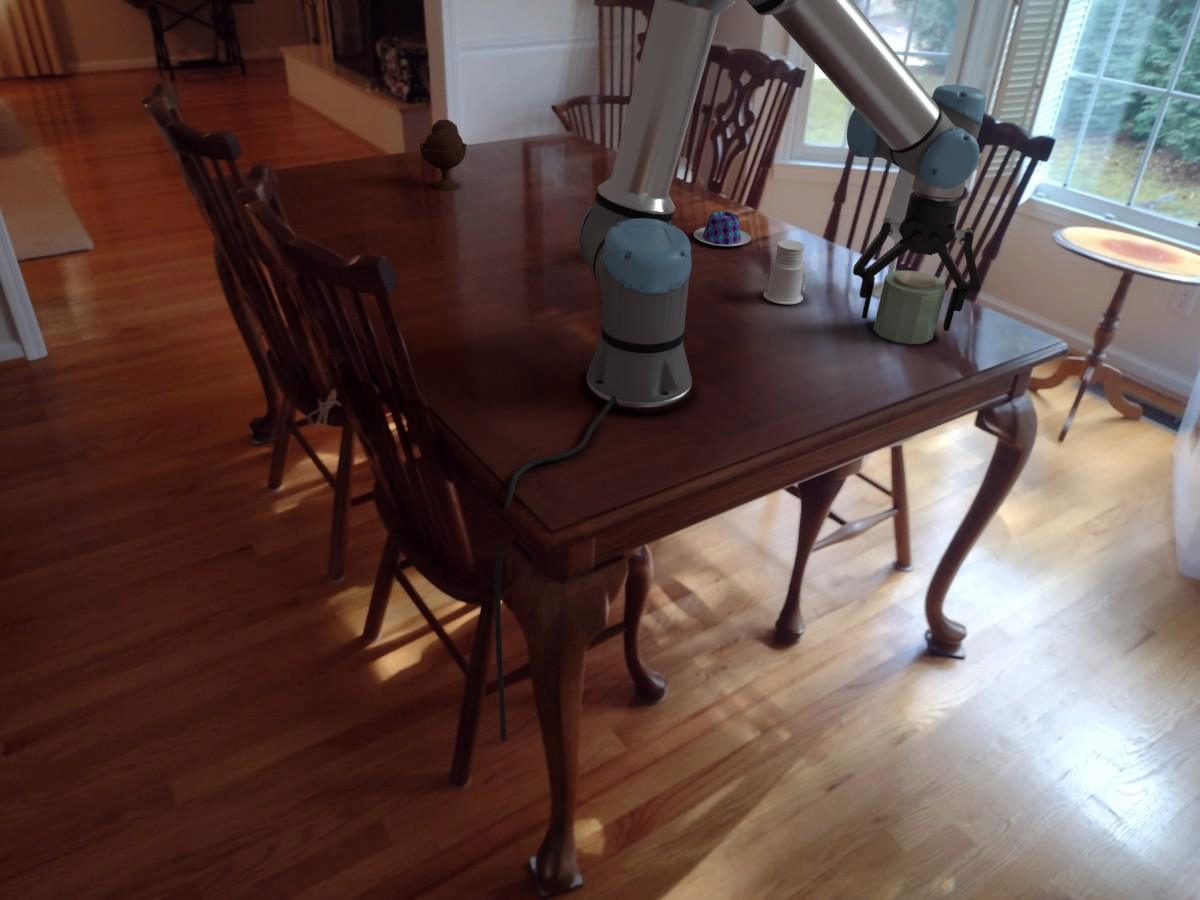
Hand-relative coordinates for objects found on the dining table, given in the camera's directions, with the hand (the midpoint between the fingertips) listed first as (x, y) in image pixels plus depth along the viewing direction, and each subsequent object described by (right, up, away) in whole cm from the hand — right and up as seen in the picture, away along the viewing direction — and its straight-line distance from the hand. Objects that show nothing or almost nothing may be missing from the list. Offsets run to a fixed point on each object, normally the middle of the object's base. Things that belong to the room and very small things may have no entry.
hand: (904, 321), depth 146 cm
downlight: (-18, +6, +12) cm, 22 cm away
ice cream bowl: (-88, +41, +62) cm, 116 cm away
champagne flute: (+2, +8, +16) cm, 17 cm away
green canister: (0, -2, +1) cm, 2 cm away
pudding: (-26, +23, +37) cm, 50 cm away
